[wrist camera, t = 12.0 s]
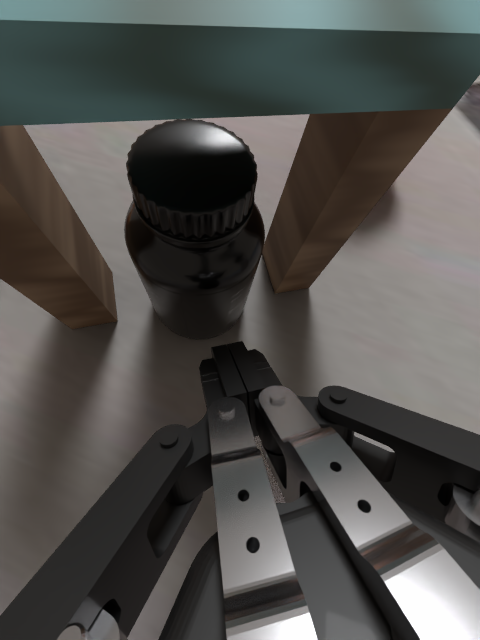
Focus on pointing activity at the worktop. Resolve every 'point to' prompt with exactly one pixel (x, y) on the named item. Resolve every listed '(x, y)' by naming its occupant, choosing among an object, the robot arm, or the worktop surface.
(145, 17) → the gate
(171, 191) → the supplement bottle
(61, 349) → the worktop surface
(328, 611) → the robot arm
